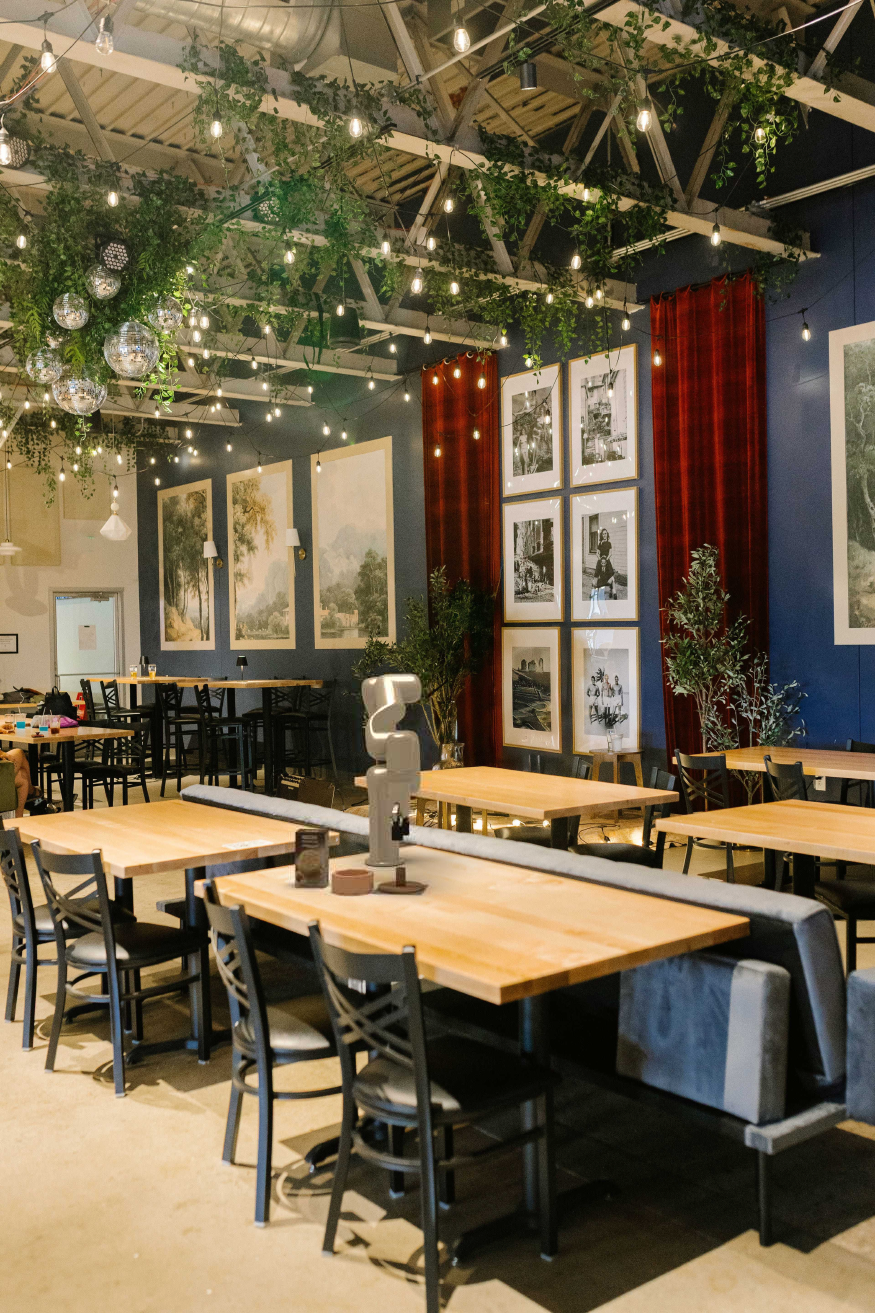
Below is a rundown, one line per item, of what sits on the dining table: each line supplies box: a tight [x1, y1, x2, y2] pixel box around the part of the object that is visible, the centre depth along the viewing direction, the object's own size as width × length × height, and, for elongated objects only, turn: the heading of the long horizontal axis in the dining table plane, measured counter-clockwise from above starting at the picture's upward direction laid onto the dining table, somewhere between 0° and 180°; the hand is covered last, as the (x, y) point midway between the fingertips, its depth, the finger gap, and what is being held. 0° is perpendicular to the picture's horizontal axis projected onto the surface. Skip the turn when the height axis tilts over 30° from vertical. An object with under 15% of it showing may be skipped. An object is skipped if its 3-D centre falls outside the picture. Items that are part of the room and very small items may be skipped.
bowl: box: [331, 868, 375, 897], centre depth 298 cm, size 11×11×6 cm
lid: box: [377, 866, 425, 894], centre depth 300 cm, size 13×13×6 cm
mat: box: [371, 883, 430, 896], centre depth 300 cm, size 14×14×1 cm
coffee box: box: [294, 828, 330, 889], centre depth 309 cm, size 9×6×16 cm
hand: (400, 838), depth 300 cm, fingers open, 9 cm apart
